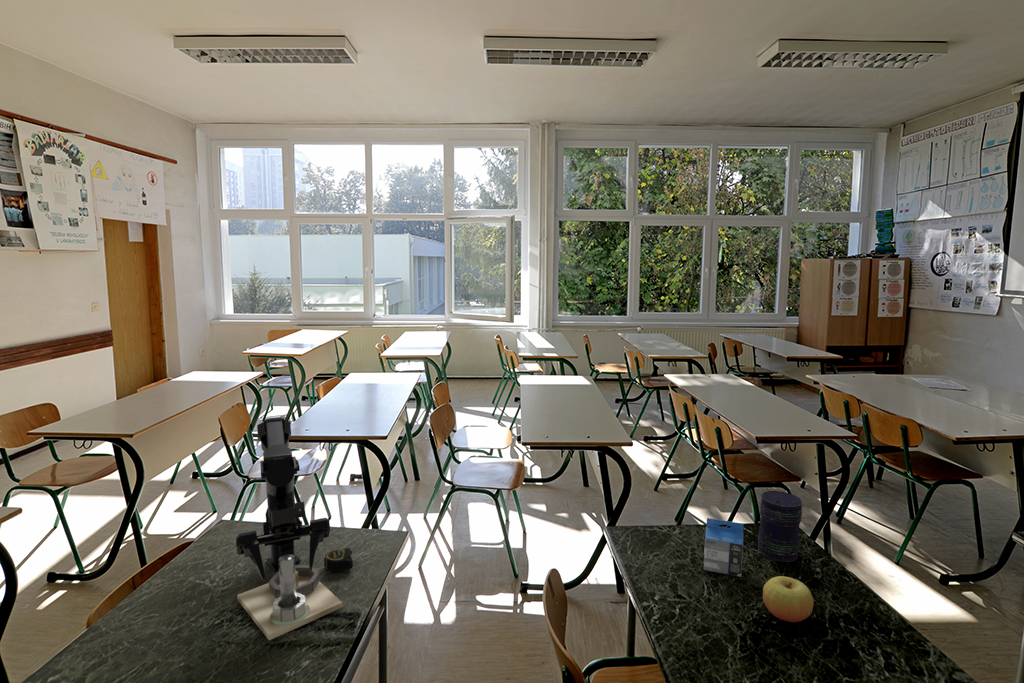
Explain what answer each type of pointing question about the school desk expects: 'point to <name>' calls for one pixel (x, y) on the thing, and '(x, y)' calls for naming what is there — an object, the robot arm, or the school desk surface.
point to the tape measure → (338, 560)
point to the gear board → (266, 600)
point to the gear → (288, 592)
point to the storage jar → (779, 525)
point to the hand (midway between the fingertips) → (287, 575)
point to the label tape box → (723, 547)
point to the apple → (787, 599)
